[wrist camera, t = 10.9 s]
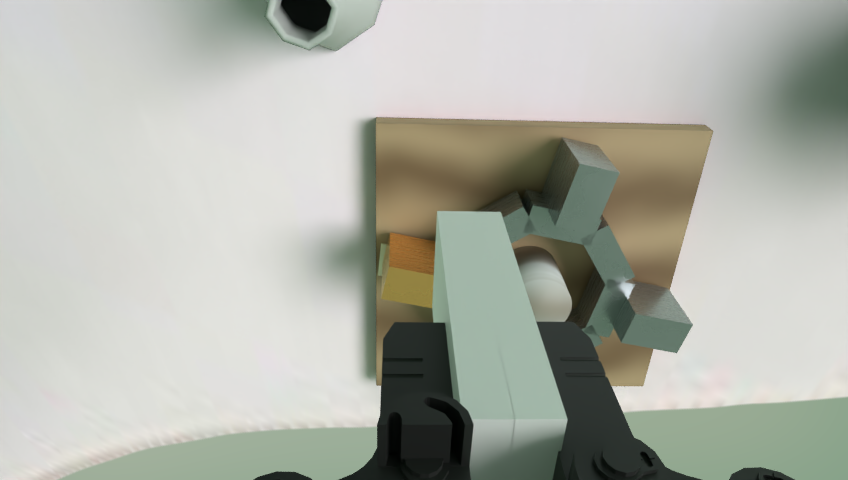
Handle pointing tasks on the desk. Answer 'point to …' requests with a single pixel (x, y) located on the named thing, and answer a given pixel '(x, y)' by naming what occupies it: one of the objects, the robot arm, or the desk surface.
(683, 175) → the board
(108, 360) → the desk surface
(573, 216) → the ring nut
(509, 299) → the robot arm
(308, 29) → the flask
